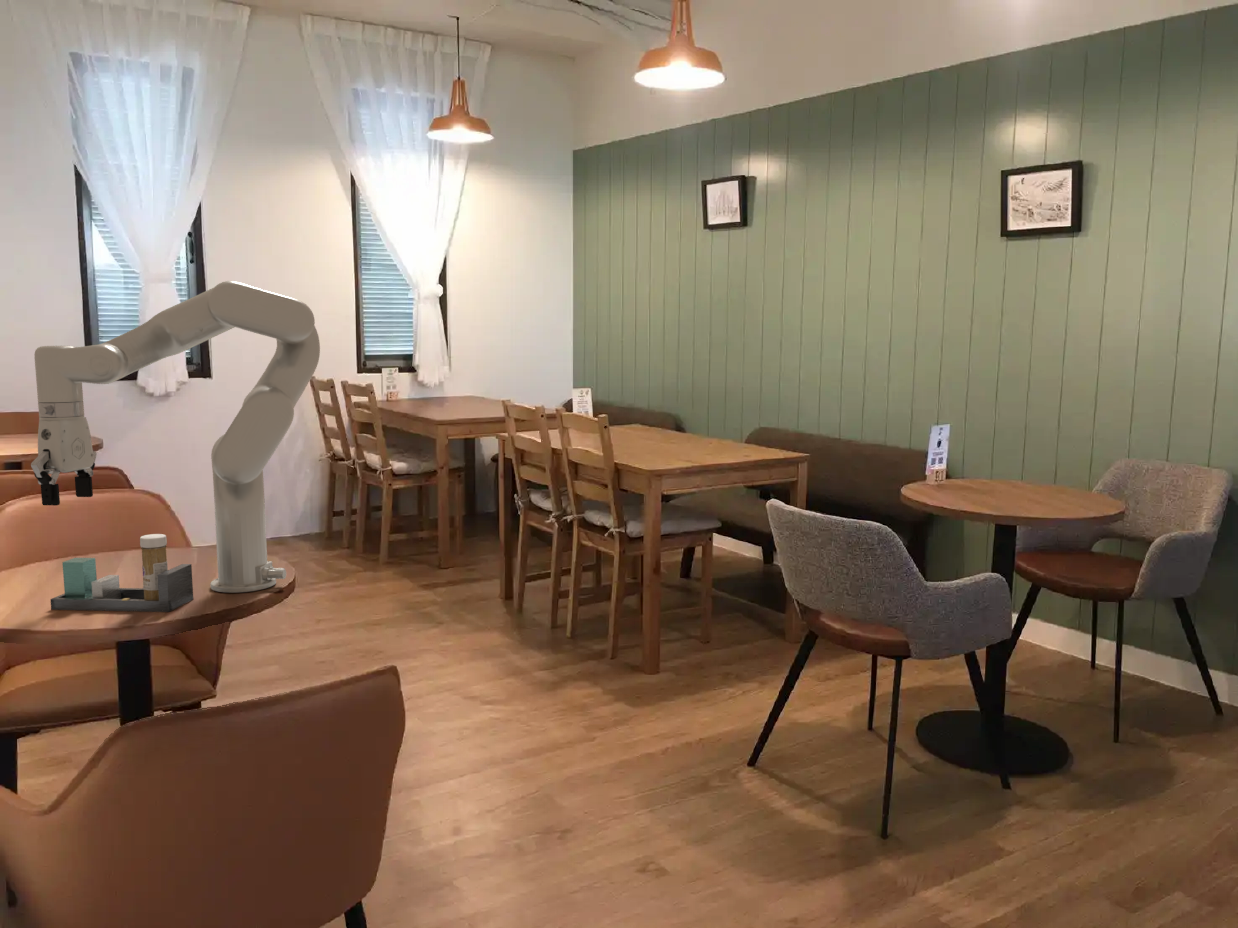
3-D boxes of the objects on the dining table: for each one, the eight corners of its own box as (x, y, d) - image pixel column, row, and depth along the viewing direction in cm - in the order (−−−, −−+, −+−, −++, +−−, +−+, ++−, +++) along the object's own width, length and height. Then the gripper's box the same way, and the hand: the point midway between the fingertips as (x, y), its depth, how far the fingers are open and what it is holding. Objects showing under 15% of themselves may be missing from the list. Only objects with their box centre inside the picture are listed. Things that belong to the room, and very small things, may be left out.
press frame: (193, 599, 195) (191, 564, 194) (169, 611, 186) (166, 574, 185) (80, 597, 197) (78, 562, 196) (51, 609, 188) (48, 572, 187)
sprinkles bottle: (139, 605, 191) (135, 535, 189) (163, 600, 194) (159, 532, 193) (150, 609, 188) (146, 538, 186) (174, 604, 191) (170, 535, 190)
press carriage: (120, 597, 195) (118, 557, 194) (102, 605, 189) (99, 564, 188) (81, 596, 195) (78, 556, 194) (62, 604, 190) (59, 563, 188)
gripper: (49, 415, 181) (56, 508, 183) (108, 408, 198) (114, 494, 200) (10, 414, 182) (18, 508, 184) (72, 408, 199) (79, 493, 201)
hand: (68, 500), depth 192 cm, fingers open, 9 cm apart
